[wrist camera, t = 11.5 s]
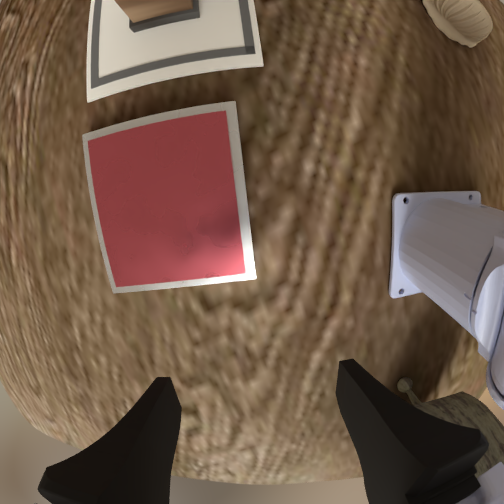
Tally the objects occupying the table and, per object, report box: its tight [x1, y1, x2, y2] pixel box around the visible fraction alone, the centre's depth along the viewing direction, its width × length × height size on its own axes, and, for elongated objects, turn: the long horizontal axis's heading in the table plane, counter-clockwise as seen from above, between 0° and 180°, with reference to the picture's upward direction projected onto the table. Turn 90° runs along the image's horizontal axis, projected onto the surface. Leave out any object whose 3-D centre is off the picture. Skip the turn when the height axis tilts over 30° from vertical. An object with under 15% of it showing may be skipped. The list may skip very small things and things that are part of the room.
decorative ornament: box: [422, 0, 493, 47], centre depth 11 cm, size 4×8×5 cm, turn 53°
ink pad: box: [82, 101, 256, 293], centre depth 17 cm, size 10×11×2 cm
